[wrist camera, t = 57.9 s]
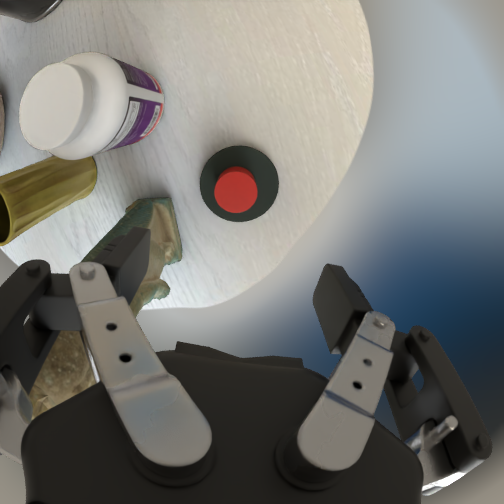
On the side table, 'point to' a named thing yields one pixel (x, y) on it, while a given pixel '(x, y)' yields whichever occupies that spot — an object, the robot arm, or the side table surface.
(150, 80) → the pill bottle
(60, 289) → the robot arm
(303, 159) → the side table surface
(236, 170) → the cap
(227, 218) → the coaster
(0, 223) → the vase
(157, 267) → the statue
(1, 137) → the decorative stone
